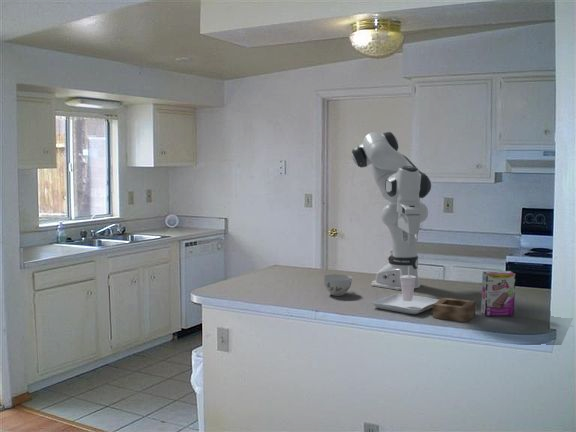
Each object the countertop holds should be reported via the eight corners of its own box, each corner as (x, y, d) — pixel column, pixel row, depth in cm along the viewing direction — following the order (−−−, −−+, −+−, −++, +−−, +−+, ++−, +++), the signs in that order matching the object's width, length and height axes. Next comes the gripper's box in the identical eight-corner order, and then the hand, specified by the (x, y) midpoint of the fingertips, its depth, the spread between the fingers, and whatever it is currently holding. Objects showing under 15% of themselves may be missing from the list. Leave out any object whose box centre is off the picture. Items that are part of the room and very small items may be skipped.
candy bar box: (485, 316, 227) (486, 273, 225) (480, 313, 232) (481, 271, 230) (514, 316, 228) (516, 273, 226) (509, 312, 233) (510, 270, 231)
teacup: (342, 299, 257) (342, 280, 256) (317, 295, 264) (317, 277, 264) (360, 292, 269) (360, 274, 268) (335, 288, 277) (335, 271, 276)
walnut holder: (432, 317, 227) (433, 304, 227) (442, 309, 238) (442, 297, 237) (466, 322, 221) (467, 308, 220) (475, 313, 231) (475, 301, 231)
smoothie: (403, 302, 239) (404, 267, 237) (396, 298, 245) (397, 264, 243) (418, 301, 240) (419, 267, 239) (411, 298, 246) (412, 264, 245)
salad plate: (396, 300, 258) (396, 292, 257) (443, 307, 244) (443, 299, 244) (369, 310, 242) (369, 301, 241) (418, 319, 228) (418, 310, 228)
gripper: (394, 205, 249) (394, 238, 250) (406, 210, 228) (405, 246, 230) (409, 205, 249) (409, 238, 251) (423, 210, 229) (422, 246, 230)
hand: (407, 242), depth 240 cm, fingers open, 8 cm apart
